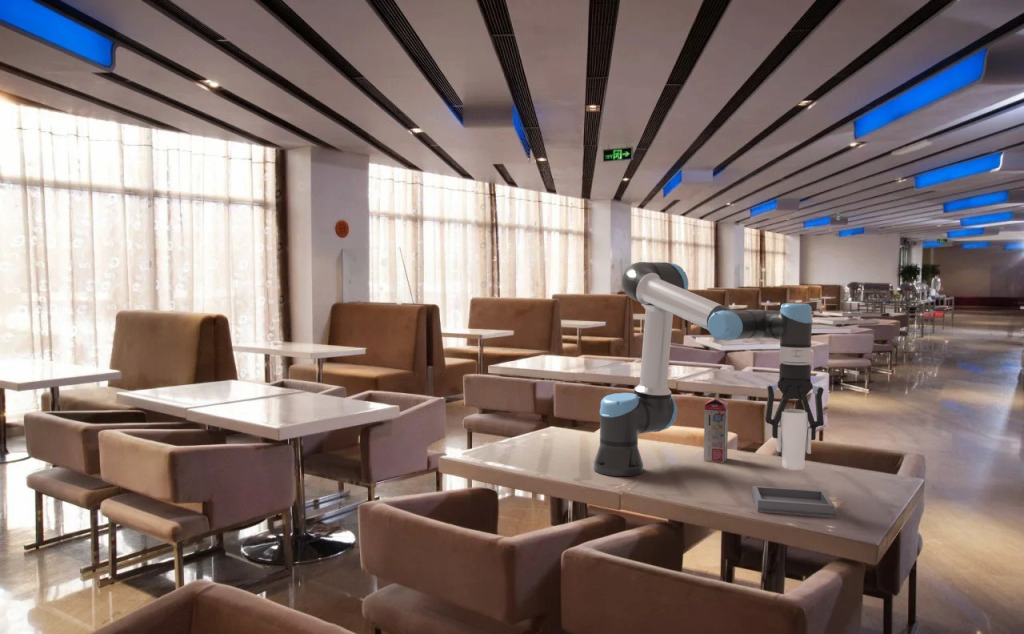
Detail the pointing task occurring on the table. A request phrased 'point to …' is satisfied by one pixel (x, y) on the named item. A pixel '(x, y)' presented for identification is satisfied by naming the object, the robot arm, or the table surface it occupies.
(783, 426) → the drinking glass
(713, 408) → the juice carton
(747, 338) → the robot arm
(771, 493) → the tray
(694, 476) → the table surface
